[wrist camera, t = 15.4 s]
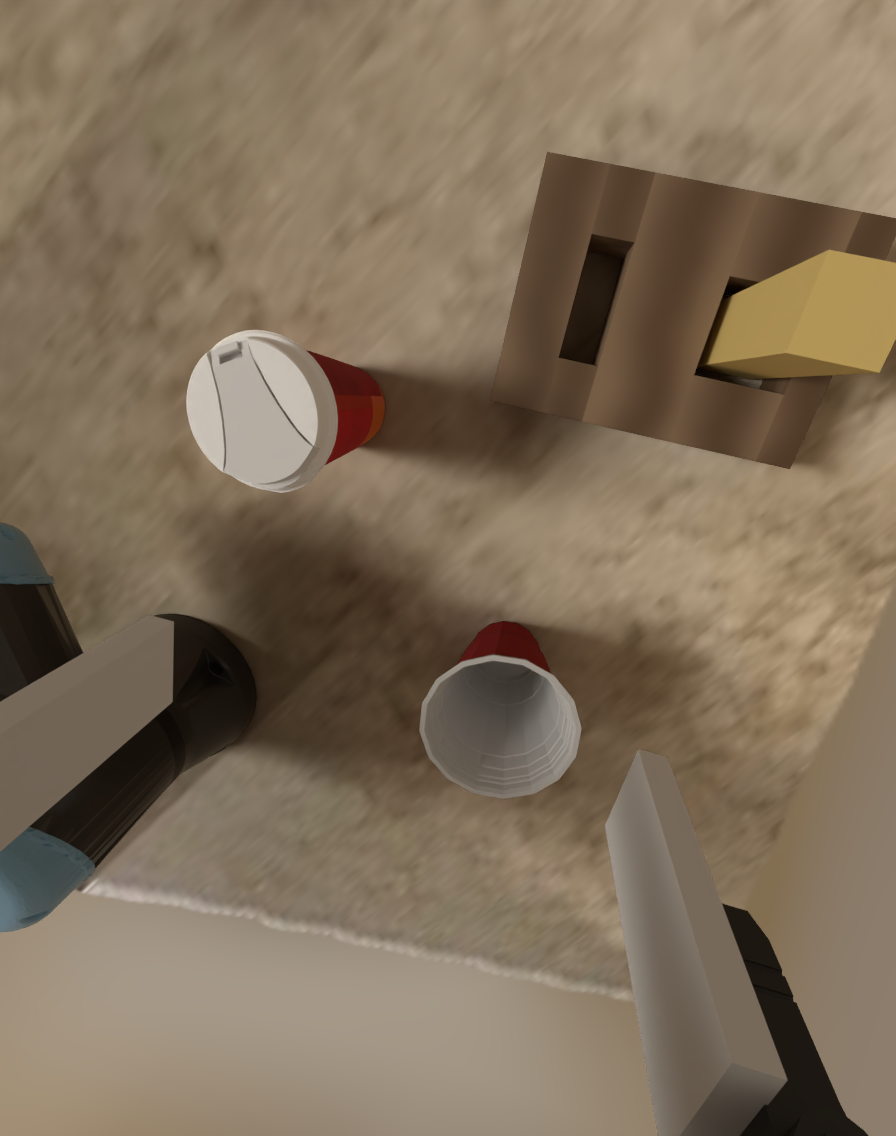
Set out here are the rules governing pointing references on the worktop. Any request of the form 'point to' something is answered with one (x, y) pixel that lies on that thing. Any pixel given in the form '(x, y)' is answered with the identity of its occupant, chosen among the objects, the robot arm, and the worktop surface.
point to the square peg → (808, 321)
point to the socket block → (665, 303)
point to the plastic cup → (500, 717)
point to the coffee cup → (278, 409)
